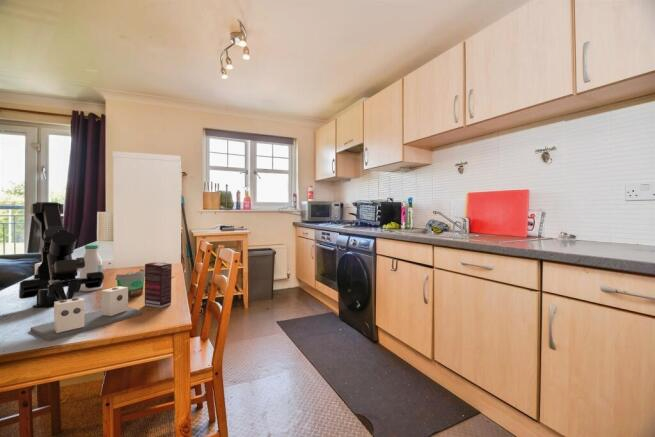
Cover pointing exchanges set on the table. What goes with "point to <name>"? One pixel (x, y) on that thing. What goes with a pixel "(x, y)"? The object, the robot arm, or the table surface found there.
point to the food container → (132, 283)
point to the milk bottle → (91, 264)
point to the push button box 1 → (114, 300)
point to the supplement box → (158, 284)
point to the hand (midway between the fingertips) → (68, 307)
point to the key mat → (90, 322)
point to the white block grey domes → (69, 314)
